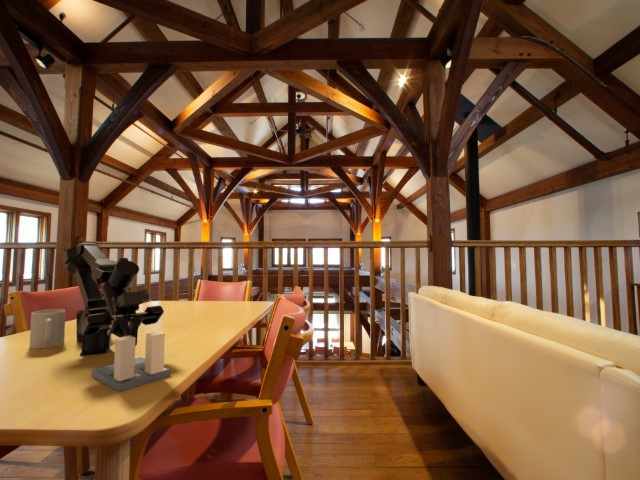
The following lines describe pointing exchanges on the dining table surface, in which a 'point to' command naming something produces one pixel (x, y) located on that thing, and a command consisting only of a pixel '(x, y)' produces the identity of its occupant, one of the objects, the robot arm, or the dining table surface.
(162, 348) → the tab
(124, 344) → the tab
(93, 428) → the dining table surface
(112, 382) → the grey base plate
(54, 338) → the mug
